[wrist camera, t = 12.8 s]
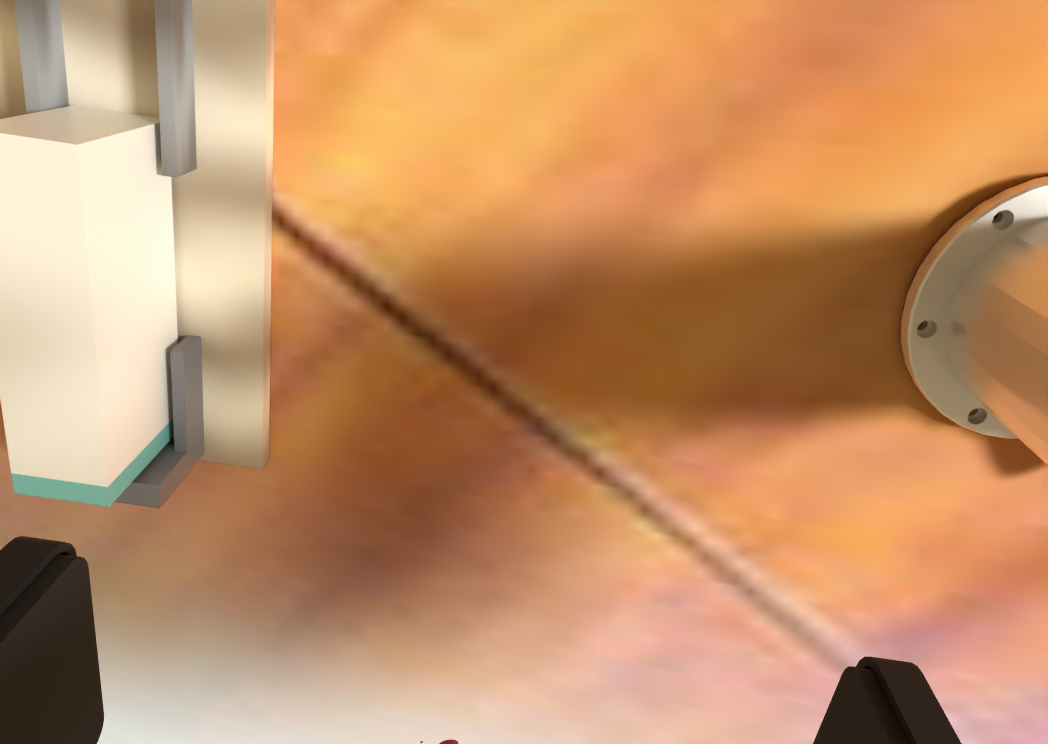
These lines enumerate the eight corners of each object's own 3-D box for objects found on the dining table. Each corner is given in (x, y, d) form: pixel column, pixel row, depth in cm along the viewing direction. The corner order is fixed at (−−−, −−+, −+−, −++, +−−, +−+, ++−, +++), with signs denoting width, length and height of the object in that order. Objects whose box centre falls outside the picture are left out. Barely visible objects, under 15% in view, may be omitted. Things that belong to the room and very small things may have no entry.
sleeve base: (-48, -283, 29) (-110, -314, 26) (277, -230, 29) (248, -254, 27) (41, 426, 42) (4, 455, 39) (268, 459, 42) (248, 490, 39)
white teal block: (74, 105, 33) (-40, 126, 27) (168, 119, 34) (77, 144, 27) (101, 415, 40) (14, 493, 33) (181, 427, 40) (109, 506, 33)
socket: (75, 317, 38) (9, 359, 33) (201, 336, 38) (152, 380, 33) (87, 435, 40) (27, 489, 36) (204, 452, 41) (159, 508, 36)
